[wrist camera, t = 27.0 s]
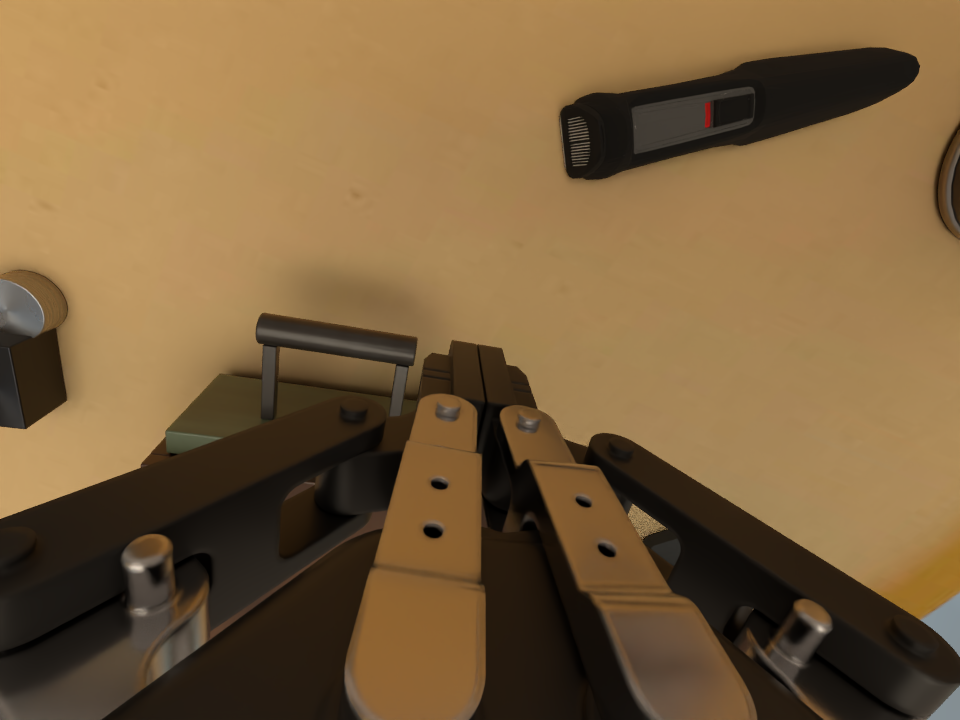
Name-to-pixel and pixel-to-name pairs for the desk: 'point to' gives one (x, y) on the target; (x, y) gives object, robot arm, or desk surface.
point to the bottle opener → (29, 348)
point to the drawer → (259, 401)
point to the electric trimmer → (726, 108)
